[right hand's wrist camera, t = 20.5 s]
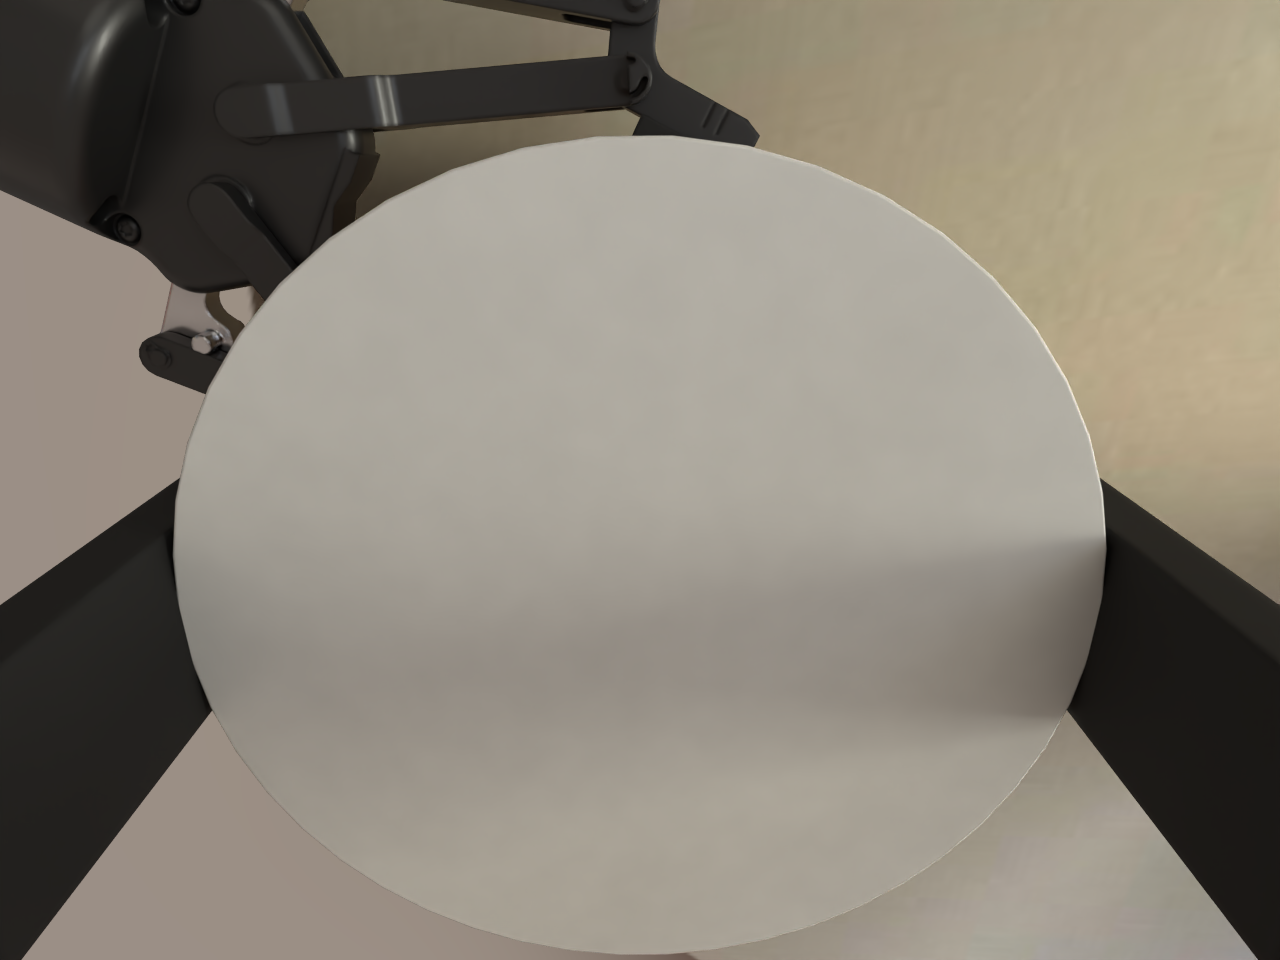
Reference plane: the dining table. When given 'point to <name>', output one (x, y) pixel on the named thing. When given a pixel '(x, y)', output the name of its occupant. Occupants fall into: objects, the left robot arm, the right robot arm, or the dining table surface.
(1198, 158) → the dining table surface
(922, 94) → the dining table surface
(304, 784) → the lid
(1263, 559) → the dining table surface
